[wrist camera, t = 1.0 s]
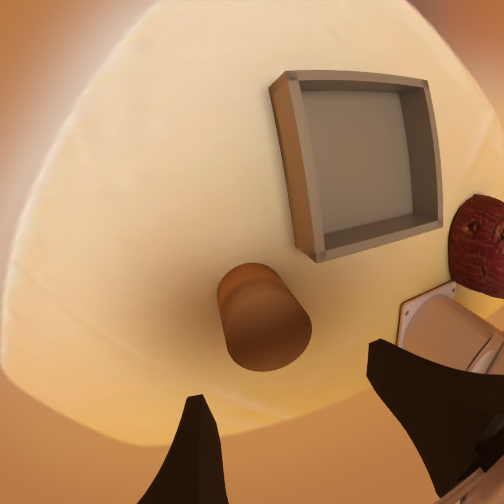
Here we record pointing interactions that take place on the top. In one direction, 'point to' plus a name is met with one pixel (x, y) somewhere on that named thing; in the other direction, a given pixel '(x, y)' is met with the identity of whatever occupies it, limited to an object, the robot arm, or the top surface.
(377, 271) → the top surface
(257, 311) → the walnut cylinder
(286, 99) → the grey bin
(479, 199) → the vegetable
